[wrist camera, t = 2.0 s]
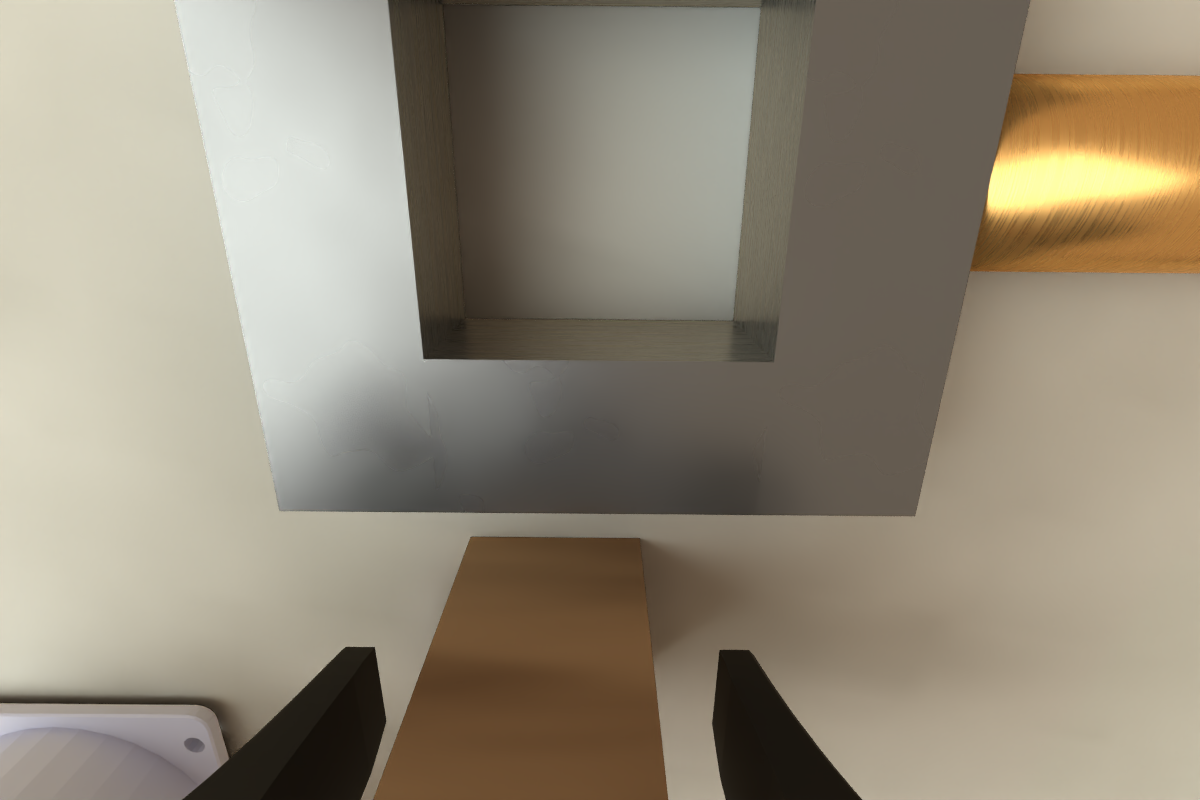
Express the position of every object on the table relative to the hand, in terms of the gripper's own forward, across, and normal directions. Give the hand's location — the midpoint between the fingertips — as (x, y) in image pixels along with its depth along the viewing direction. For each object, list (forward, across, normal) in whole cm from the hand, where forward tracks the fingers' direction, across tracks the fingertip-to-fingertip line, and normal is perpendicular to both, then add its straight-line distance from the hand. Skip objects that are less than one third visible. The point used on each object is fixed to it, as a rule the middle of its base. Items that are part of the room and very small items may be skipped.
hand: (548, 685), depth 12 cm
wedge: (+2, 0, 0) cm, 2 cm away
